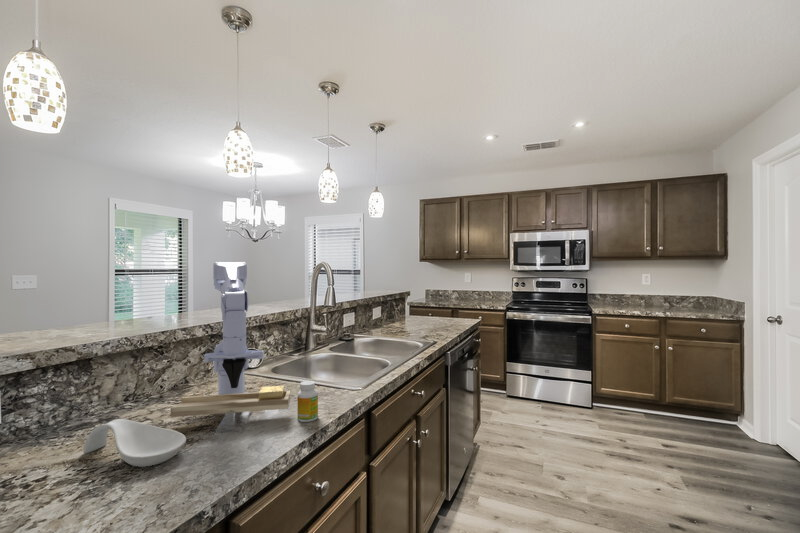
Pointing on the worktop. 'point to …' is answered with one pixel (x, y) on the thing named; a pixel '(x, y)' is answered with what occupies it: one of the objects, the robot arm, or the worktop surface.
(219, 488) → the worktop surface
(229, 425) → the stand
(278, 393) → the block
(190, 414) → the beam
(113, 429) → the spoon rest
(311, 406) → the supplement bottle
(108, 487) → the worktop surface
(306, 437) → the worktop surface
